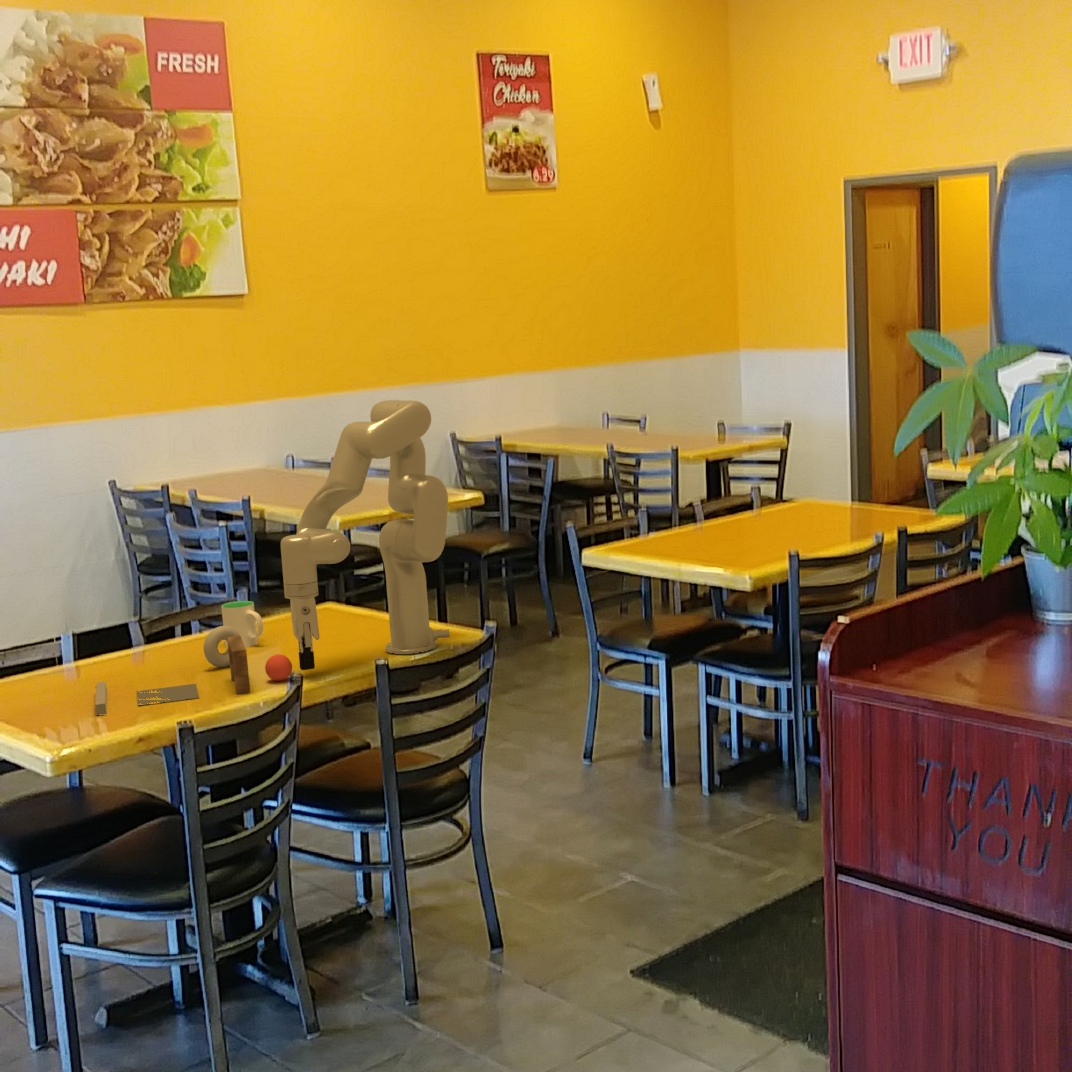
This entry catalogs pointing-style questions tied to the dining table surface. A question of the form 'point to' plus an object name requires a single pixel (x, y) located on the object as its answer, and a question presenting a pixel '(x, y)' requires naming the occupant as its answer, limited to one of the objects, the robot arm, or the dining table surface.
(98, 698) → the stopper wall
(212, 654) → the donut
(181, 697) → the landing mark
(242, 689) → the bridge
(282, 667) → the ball
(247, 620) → the mug
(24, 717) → the dining table surface
